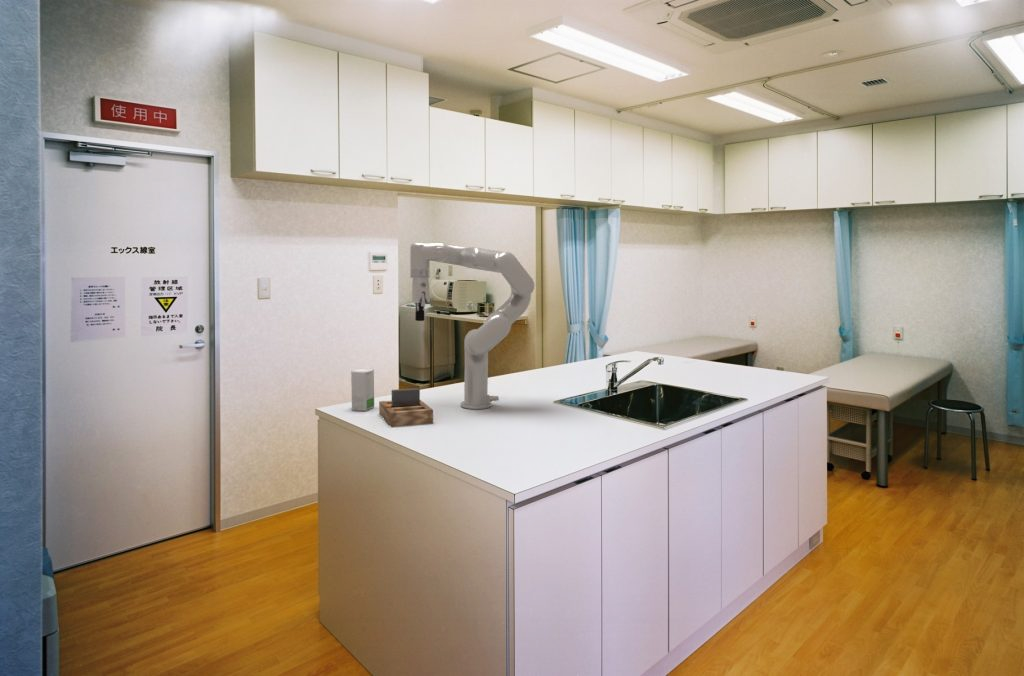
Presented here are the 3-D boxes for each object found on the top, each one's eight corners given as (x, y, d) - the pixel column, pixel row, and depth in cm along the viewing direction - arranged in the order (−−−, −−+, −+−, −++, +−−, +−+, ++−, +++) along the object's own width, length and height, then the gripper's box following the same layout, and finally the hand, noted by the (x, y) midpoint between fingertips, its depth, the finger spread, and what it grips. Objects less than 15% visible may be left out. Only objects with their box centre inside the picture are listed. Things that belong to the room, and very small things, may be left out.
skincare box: (366, 411, 238) (365, 372, 236) (350, 410, 239) (349, 371, 237) (375, 407, 246) (374, 368, 244) (359, 406, 247) (359, 368, 246)
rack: (418, 411, 240) (418, 397, 240) (433, 423, 222) (433, 408, 222) (379, 414, 234) (379, 399, 234) (390, 426, 216) (390, 411, 215)
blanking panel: (418, 411, 231) (418, 388, 230) (419, 413, 229) (419, 389, 228) (391, 413, 227) (391, 389, 226) (393, 415, 225) (393, 391, 224)
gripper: (434, 274, 236) (434, 322, 238) (424, 274, 250) (423, 319, 252) (415, 274, 233) (415, 322, 235) (406, 274, 247) (406, 319, 249)
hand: (419, 320), depth 244 cm, fingers closed
